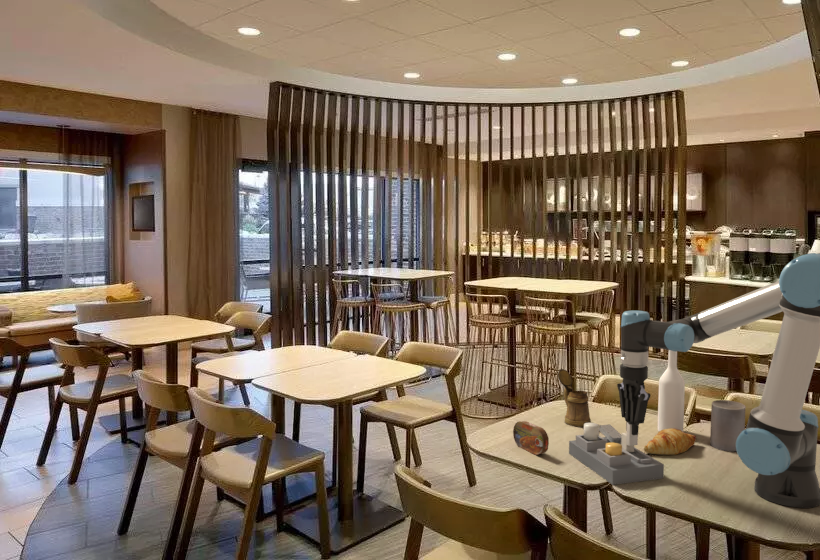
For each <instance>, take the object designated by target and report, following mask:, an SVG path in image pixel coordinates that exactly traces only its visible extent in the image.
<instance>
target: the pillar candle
mask: <svg viewBox="0 0 820 560" xmlns="http://www.w3.org/2000/svg"><path fill="white" fill-rule="evenodd" d="M710 414H711V416H710V438H709V439H710V442H709V444H710V446H711V447H712V448H714V449H717V450H720V451H723V452H737V451H736V440H737V437H738V436H739V435H740V433H741V432H742V431H743V430H745V429H746V405H745V404H744V403H742V402H738V401H734V400H730V399H729V400H727V399H725V400H724V399H719V400H714V401H712V402H711V413H710Z"/></svg>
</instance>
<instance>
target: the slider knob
mask: <svg viewBox="0 0 820 560" xmlns="http://www.w3.org/2000/svg"><path fill="white" fill-rule="evenodd" d="M621 435H622V439H621V445H622V449H624V450H626V451H627V452H634V447H635V445H632V446H629V445H627V444H626V437H627V432H621Z"/></svg>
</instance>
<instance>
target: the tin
mask: <svg viewBox="0 0 820 560" xmlns="http://www.w3.org/2000/svg"><path fill="white" fill-rule="evenodd" d="M512 434H513V440H514V442H515V444H516V446H517V447H519V448H520V449H521V450H525V451H527V452H529V453H530V454H531V455H532V454H533V455H536V456H538V455H543V454H545V453H547V451H548V449H549V444H550V443H549V434H548V433H547V431H546V429H544V428H543V427H541V426H538V425H536V424H534V423H532V422H530V421H527V420H524V421H517V422H516V423H515V424H514V426H513V430H512Z"/></svg>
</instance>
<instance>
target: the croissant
mask: <svg viewBox="0 0 820 560" xmlns="http://www.w3.org/2000/svg"><path fill="white" fill-rule="evenodd" d="M696 440H697V436H696V435H694V434H690V433H686V432H684V431H683V432H682V431H681V430H677V429H673V428H669V429H663V430H661V431H658V432H657V433H656V434H655V435H654V436H653V437H652V439H651V440H649V441H648V442H647V444H646V445H644V446H643V451H644V453H645V454H651V455H666V456H667V455H668V456H674V455H675V456H676V455H678V454H683V453H685V452H687V451H688V450H689V449H690V448H691V447H693V446H694V445H695V444H696Z"/></svg>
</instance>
